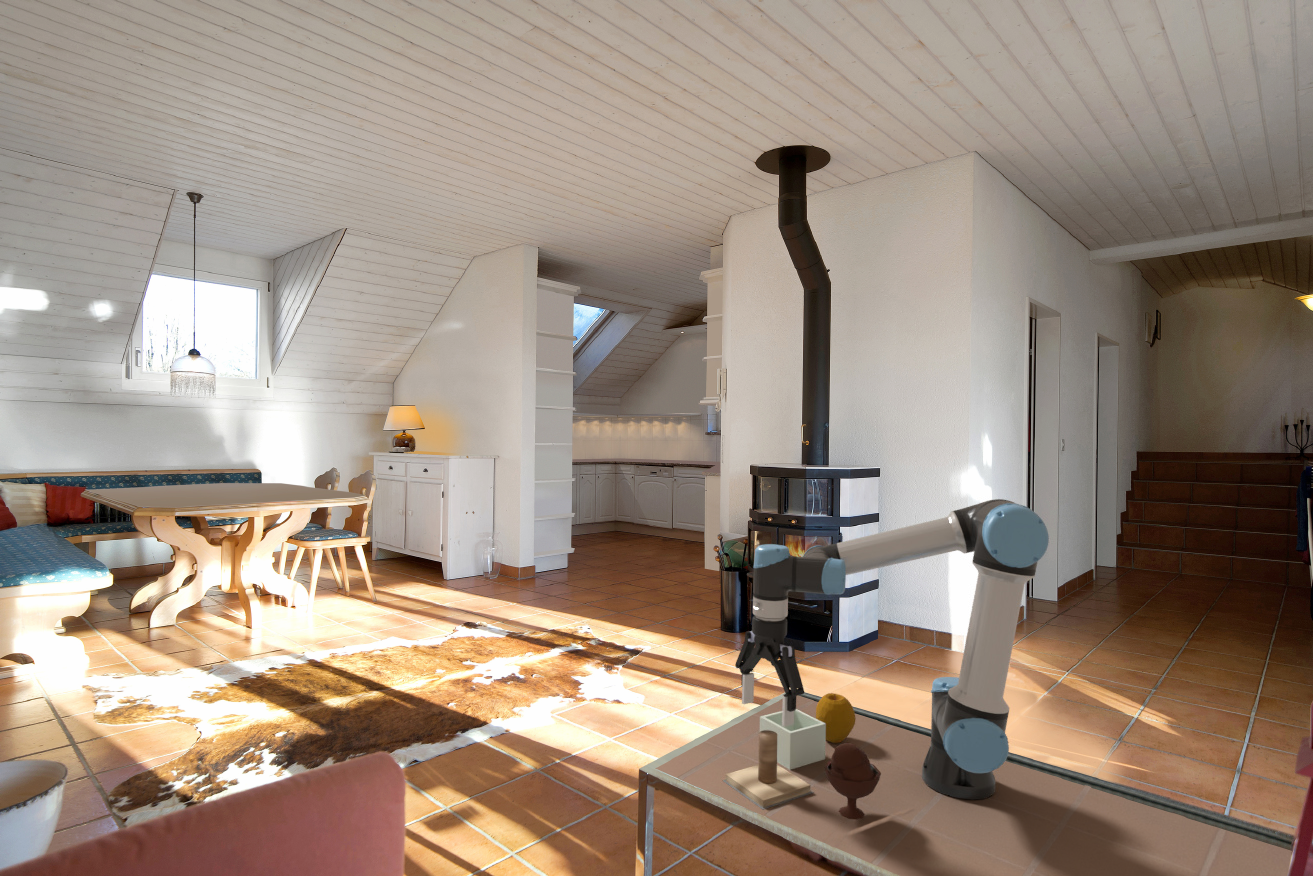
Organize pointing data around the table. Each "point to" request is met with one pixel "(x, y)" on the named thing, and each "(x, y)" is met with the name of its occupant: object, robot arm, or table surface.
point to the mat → (767, 806)
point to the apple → (836, 716)
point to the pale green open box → (797, 739)
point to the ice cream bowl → (851, 777)
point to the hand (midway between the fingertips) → (767, 713)
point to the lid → (767, 776)
